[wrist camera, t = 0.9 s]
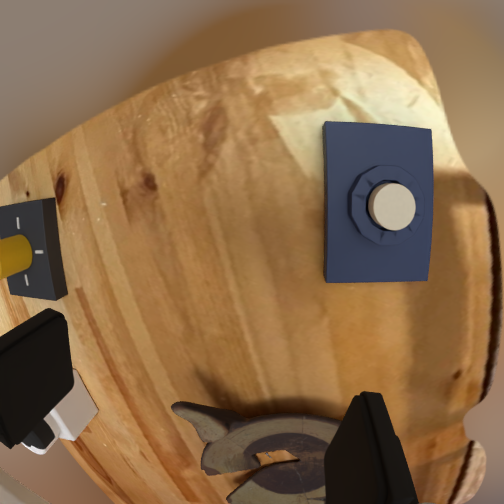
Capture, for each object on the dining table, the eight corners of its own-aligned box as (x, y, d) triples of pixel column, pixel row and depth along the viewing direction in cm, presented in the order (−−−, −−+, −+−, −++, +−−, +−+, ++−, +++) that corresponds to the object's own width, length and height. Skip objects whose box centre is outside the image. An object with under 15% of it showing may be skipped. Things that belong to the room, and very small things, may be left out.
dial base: (9, 205, 32) (-5, 207, 30) (55, 197, 31) (40, 199, 28) (21, 289, 35) (9, 295, 32) (68, 294, 33) (55, 301, 31)
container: (45, 368, 38) (-6, 411, 25) (76, 368, 36) (22, 420, 24) (67, 407, 39) (24, 454, 26) (100, 410, 38) (56, 466, 25)
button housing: (322, 125, 26) (327, 116, 22) (422, 132, 25) (440, 126, 21) (323, 275, 29) (328, 290, 25) (419, 274, 28) (435, 287, 24)
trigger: (367, 182, 23) (373, 182, 21) (408, 184, 23) (416, 184, 21) (367, 226, 24) (372, 230, 22) (407, 227, 24) (415, 230, 22)
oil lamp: (244, 501, 39) (238, 536, 32) (160, 369, 34) (134, 408, 26) (379, 480, 35) (386, 516, 27) (352, 326, 30) (368, 367, 22)
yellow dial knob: (10, 235, 30) (-23, 244, 24) (29, 233, 30) (-5, 243, 24) (15, 268, 31) (-16, 281, 25) (35, 269, 30) (2, 283, 25)
